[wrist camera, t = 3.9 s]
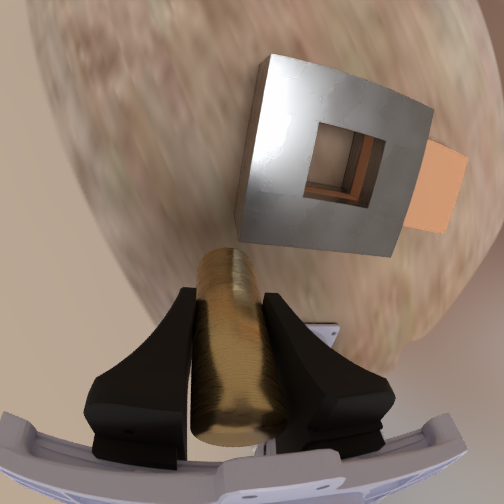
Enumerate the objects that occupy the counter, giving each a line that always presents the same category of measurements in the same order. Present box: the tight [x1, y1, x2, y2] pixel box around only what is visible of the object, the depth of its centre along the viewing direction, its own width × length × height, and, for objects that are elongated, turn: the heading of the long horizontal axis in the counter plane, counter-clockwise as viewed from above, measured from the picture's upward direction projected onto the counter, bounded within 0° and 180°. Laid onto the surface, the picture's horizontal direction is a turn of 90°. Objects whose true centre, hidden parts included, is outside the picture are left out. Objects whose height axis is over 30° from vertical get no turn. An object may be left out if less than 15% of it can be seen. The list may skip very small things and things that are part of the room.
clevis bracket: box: [234, 54, 434, 258], centre depth 18 cm, size 11×11×4 cm
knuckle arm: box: [304, 127, 469, 234], centre depth 19 cm, size 7×16×3 cm, turn 80°
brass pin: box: [190, 248, 288, 447], centre depth 12 cm, size 3×3×9 cm
